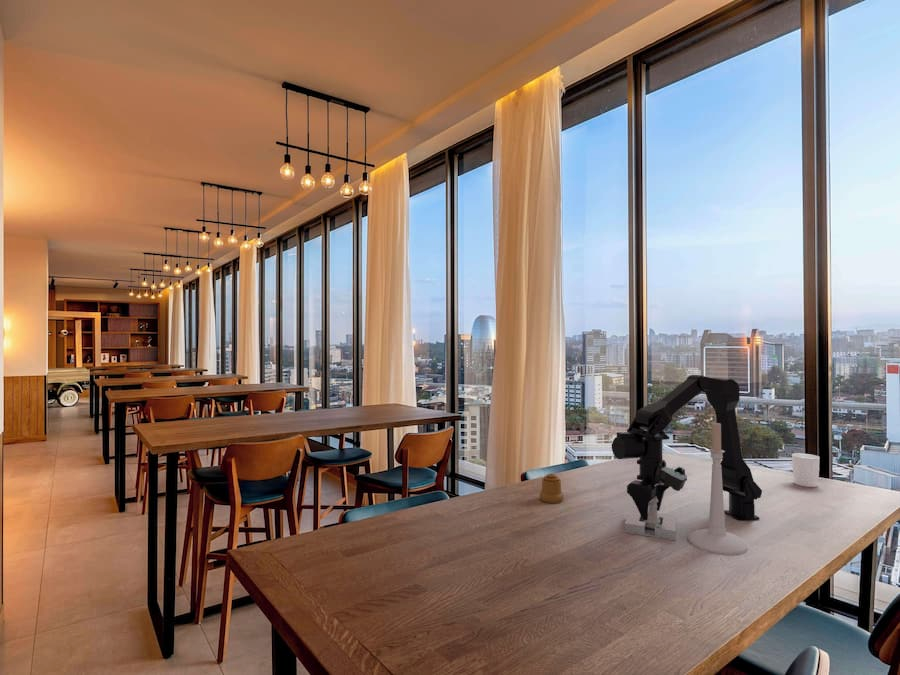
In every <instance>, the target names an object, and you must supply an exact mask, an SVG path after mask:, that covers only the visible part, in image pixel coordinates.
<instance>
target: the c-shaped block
mask: <svg viewBox="0 0 900 675" xmlns="http://www.w3.org/2000/svg"><path fill="white" fill-rule="evenodd" d="M657 514H658V517H659V520H660V521H661V523H660V524H655V529H649V528H647V527H646V522H644V521H643V519H642V517H641V515H640V512H639V510H638V509H631V508H630V509H629V510H628V513H627V516H626V519H625V522H624V533H627V534H632V535H637V536H638V535H639V536H644V535H645V537H650V536H651V538H656V537H657V539H662V540H668V541H676V540H677V526H678V524H677V522H678V521H677V515H675V514H669V513H668V514H667V513H659V512H657Z"/></svg>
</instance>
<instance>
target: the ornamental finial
mask: <svg viewBox="0 0 900 675" xmlns="http://www.w3.org/2000/svg"><path fill="white" fill-rule="evenodd" d="M541 481H542V482H541V491H540V493H539V499H540V500H541V502H544V503H546V504H559V503H562V502H563V500H564V499H565V496H564V494H563V491H562V481H561V479H560V478H559V476H557V475H556V474H555V473H548V474H547V475H545V476H544V477H543V478H542V479H541Z"/></svg>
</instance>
